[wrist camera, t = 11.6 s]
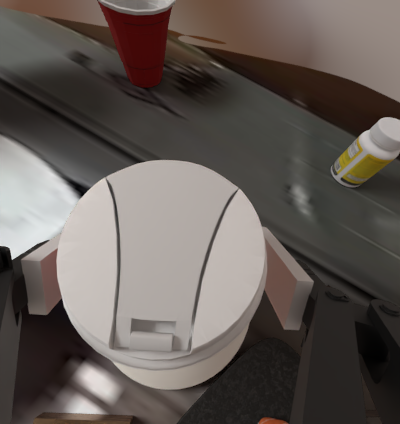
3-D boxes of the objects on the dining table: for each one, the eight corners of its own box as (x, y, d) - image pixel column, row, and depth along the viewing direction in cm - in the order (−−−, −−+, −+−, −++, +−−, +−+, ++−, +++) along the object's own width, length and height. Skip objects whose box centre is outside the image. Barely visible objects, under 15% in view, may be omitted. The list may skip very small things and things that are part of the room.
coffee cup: (218, 346, 19) (299, 388, 6) (124, 340, 19) (-17, 372, 6) (219, 254, 23) (268, 154, 10) (141, 248, 23) (84, 138, 10)
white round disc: (77, 381, 18) (71, 385, 17) (118, 220, 25) (115, 216, 24) (252, 389, 19) (257, 393, 18) (245, 231, 26) (248, 227, 25)
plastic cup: (129, 105, 34) (107, 7, 24) (104, 68, 38) (75, -30, 27) (188, 88, 38) (192, -4, 27) (159, 56, 41) (153, -36, 31)
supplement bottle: (368, 181, 32) (426, 137, 24) (346, 192, 30) (400, 149, 23) (345, 158, 33) (393, 110, 26) (323, 167, 32) (367, 120, 25)
